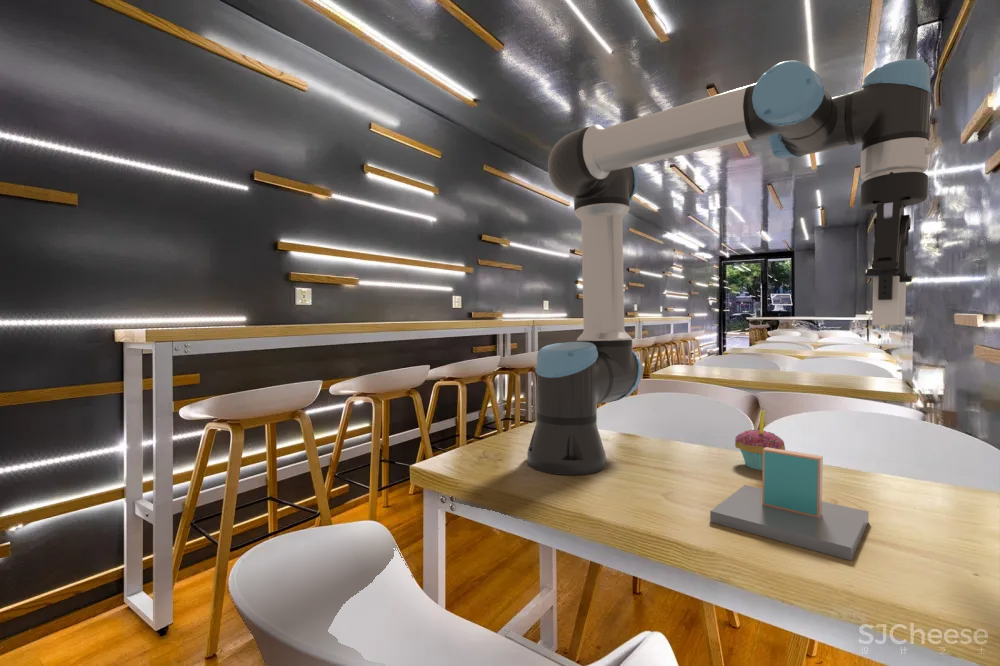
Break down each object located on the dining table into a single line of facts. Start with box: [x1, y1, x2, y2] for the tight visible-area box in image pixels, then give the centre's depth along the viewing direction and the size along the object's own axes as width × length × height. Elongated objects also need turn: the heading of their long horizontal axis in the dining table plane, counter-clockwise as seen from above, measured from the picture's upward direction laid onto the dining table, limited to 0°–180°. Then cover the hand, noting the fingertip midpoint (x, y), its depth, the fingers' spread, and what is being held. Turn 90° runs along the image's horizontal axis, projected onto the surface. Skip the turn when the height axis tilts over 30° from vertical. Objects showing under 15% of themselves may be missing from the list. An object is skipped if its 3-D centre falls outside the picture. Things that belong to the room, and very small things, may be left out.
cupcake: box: [734, 406, 786, 471], centre depth 93 cm, size 9×8×12 cm
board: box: [709, 484, 869, 561], centre depth 67 cm, size 16×15×2 cm
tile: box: [761, 447, 824, 518], centre depth 68 cm, size 7×2×8 cm, turn 47°
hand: (889, 325), depth 70 cm, fingers open, 13 cm apart
